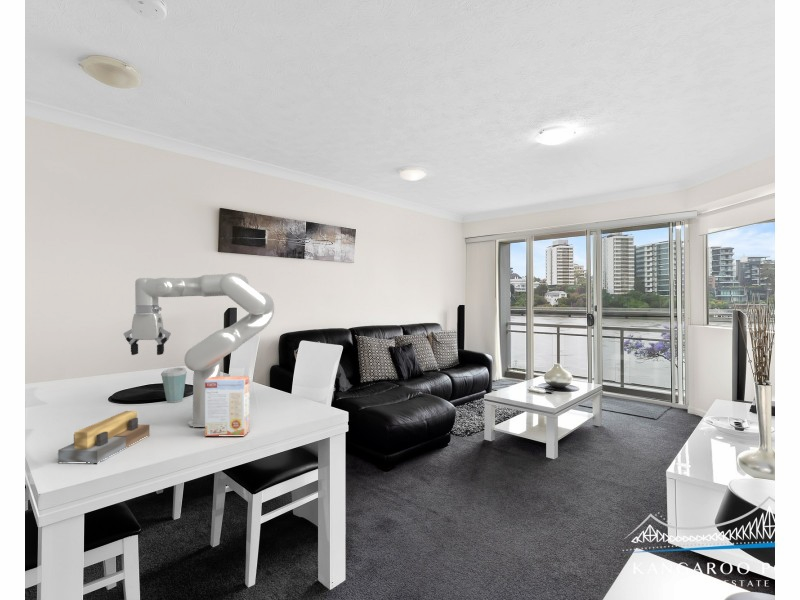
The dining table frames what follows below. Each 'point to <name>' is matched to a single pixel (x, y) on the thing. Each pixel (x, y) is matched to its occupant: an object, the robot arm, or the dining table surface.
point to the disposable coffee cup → (174, 384)
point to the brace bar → (103, 429)
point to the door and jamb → (105, 445)
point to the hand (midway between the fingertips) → (147, 354)
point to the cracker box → (226, 406)
